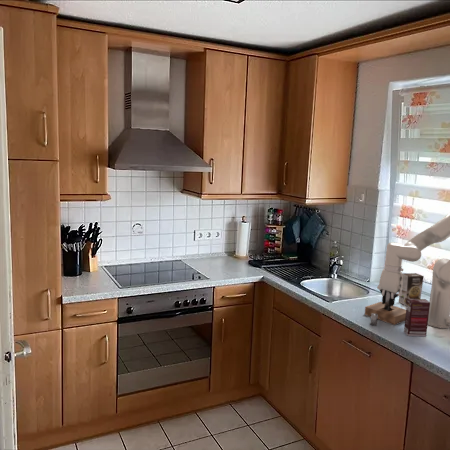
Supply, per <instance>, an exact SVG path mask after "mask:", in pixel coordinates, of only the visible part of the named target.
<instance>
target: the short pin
mask: <svg viewBox="0 0 450 450" xmlns="http://www.w3.org/2000/svg"><path fill="white" fill-rule="evenodd" d="M378 320H379V319H378V314H375V313H372V314H371V317H370V322H369V324H370V326H372V327H376V326H377V325H378Z"/></svg>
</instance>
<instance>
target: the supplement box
mask: <svg viewBox="0 0 450 450" xmlns="http://www.w3.org/2000/svg"><path fill="white" fill-rule="evenodd" d="M429 301H430V300H427V298H426V299H425V298H421V299H407V306H406V309H405V310H406V316H405V321H404V326H403V333H404V334H405V335H406V336H407V337H427V331H428V326H429V325H428V317H429V308H430V302H429Z"/></svg>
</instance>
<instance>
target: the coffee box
mask: <svg viewBox="0 0 450 450" xmlns="http://www.w3.org/2000/svg"><path fill="white" fill-rule="evenodd" d="M402 276H403V285H402V294H403V295H401V296H398V303H401V304H402V305H404V306H405V307H407V299H422V298H421V297H422V291H423V283H424V278H425V277H424V275H421V274H419V273H416V272H411V273H410V272H409V273H407V272H406V273H403V272H402Z"/></svg>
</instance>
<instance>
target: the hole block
mask: <svg viewBox="0 0 450 450" xmlns="http://www.w3.org/2000/svg"><path fill="white" fill-rule="evenodd" d="M372 313H375V314H378V320H379V321H382V322H384V323H387V324H390V325H393V326H396V325H399V324H401V323H403V322H405V316H406V309H405V308H402V307H399V306H395V305H393V306H391V309H390V311H387V310H384V304H382V301H379V302H375V303H372V304H370V305H367V306H365V308H364V316H365V315H366V316H369V317H370V318H371V314H372Z"/></svg>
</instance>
